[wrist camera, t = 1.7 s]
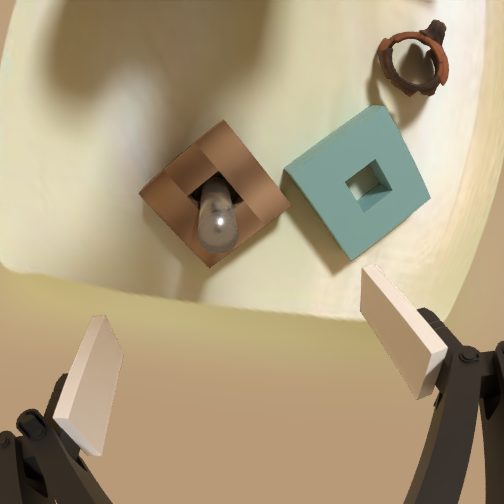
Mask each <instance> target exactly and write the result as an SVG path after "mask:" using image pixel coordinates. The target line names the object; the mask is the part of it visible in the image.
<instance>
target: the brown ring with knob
mask: <svg viewBox="0 0 504 504" xmlns="http://www.w3.org/2000/svg"><path fill="white" fill-rule="evenodd" d="M445 31H446V26H445V24H444V23H443V22H440V21H439V20H433V21H432V22H431V24H430V25H429V27H428V28H427V29H425V30H420V31H419V32H403V33H398V34H396V35H394V36H392V37H391V38H390V39H386V38H384V39H383V40H382V42H381V44H380V45H379V49H378V50H379V52H378V56H379V61H380V64H381V68H382V70H383V72H384V74H385V76H386V78H387V79H390V80H391V83H392V84H393V85H394V86H395V87H397V88H398V89H400V90H401V91H403V92H404V93H405V94H406V95H407V96H409V97H410V96H411V95H413V94H414V93H416V92H417V91H420V93H421V94H423V95H427V96H432V95H434V94H435V91H436V88H437V87H438V85H439V84H440V83H441V85H442V86H443V85H444V84H445V83H446V81H447V79H448V74H449V64H448V60H447V56H446V54H445V52H444V50H443V47H442V43H443V39H444V36H445ZM405 39H417V40H419V41H420V42H421V43H423V44H424V45H427V46H429V47H430V48H431V49H430V50H428V51H427V52H426V53H427V54H428V55H429V56H430V58H431V59H432V61H433V64H434V67H435V75H434V78H433V79H432V80H431V81H429V82H428V83H425V84H420V85H415V84H412V83H409V82H407V81H405V80H404V79H403V78H401V77H400V76H399V74H398V73H397V72H396V70H395V68H394V66H393V62H392V52H393V48H392V46H393V45H394V44H395V43H399V42H401V41H403V40H405Z"/></svg>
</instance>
